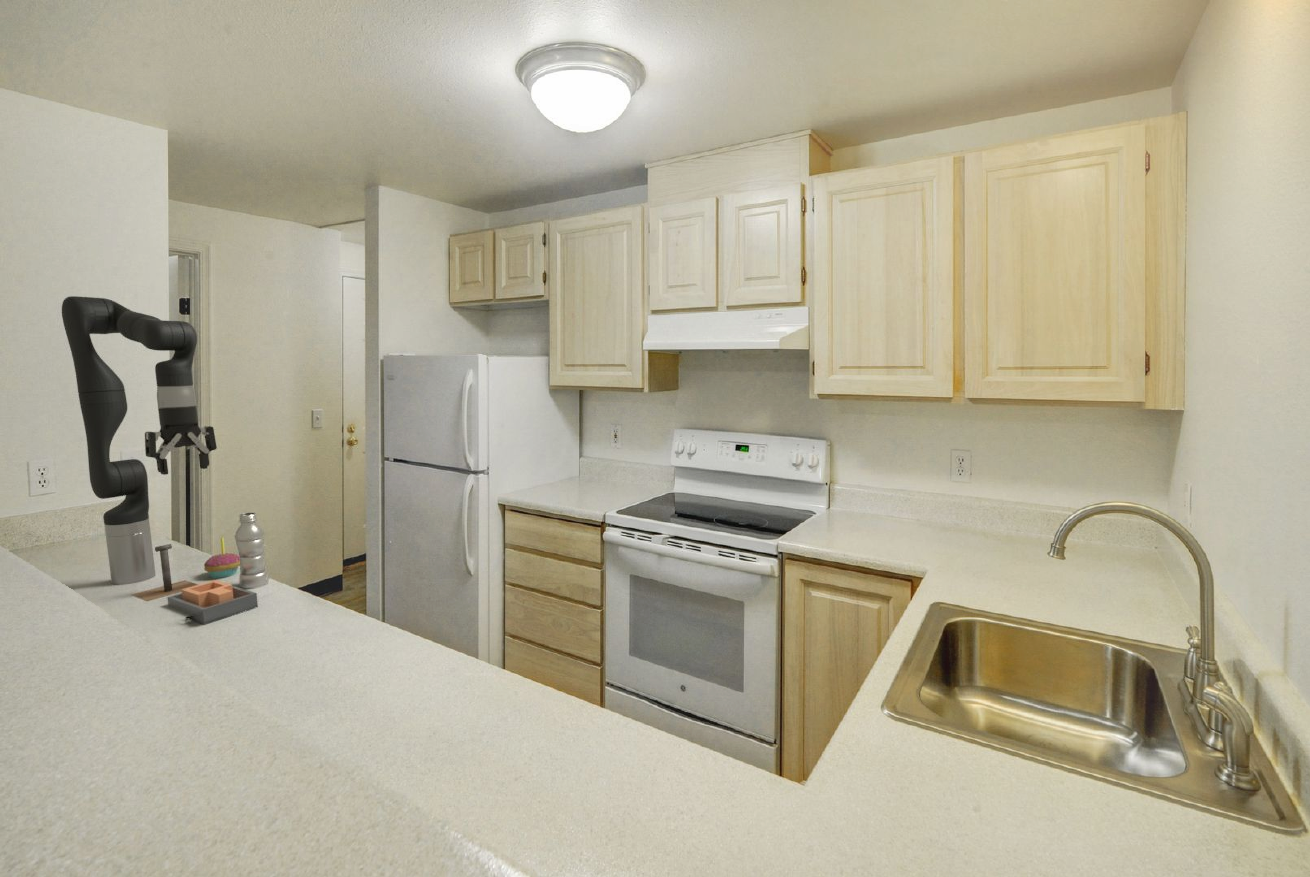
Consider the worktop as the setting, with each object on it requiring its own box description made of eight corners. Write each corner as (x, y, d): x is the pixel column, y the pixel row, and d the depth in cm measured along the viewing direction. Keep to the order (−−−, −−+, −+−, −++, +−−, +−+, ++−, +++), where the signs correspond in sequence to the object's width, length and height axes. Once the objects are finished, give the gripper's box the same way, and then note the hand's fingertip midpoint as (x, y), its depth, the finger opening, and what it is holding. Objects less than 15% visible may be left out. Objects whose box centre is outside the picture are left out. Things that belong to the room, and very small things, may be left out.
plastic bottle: (246, 596, 163) (239, 518, 161) (235, 591, 167) (228, 515, 165) (274, 589, 168) (267, 513, 166) (262, 583, 173) (255, 509, 170)
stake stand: (131, 600, 162) (125, 549, 160) (185, 585, 172) (180, 537, 170) (148, 607, 157) (141, 554, 156) (202, 591, 168) (197, 541, 166)
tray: (169, 611, 155) (167, 597, 154) (222, 595, 164) (220, 582, 164) (204, 624, 146) (202, 609, 146) (257, 607, 156) (256, 593, 156)
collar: (183, 607, 155) (181, 589, 154) (217, 597, 161) (215, 579, 161) (210, 617, 149) (208, 598, 148) (244, 606, 155) (242, 587, 155)
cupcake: (209, 577, 178) (204, 534, 177) (245, 572, 182) (241, 530, 180) (203, 587, 171) (198, 542, 169) (241, 582, 174) (236, 538, 173)
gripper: (202, 402, 165) (208, 465, 167) (135, 406, 153) (142, 475, 155) (217, 403, 161) (224, 468, 163) (150, 407, 149) (158, 477, 151)
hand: (184, 471), depth 159 cm, fingers open, 8 cm apart
